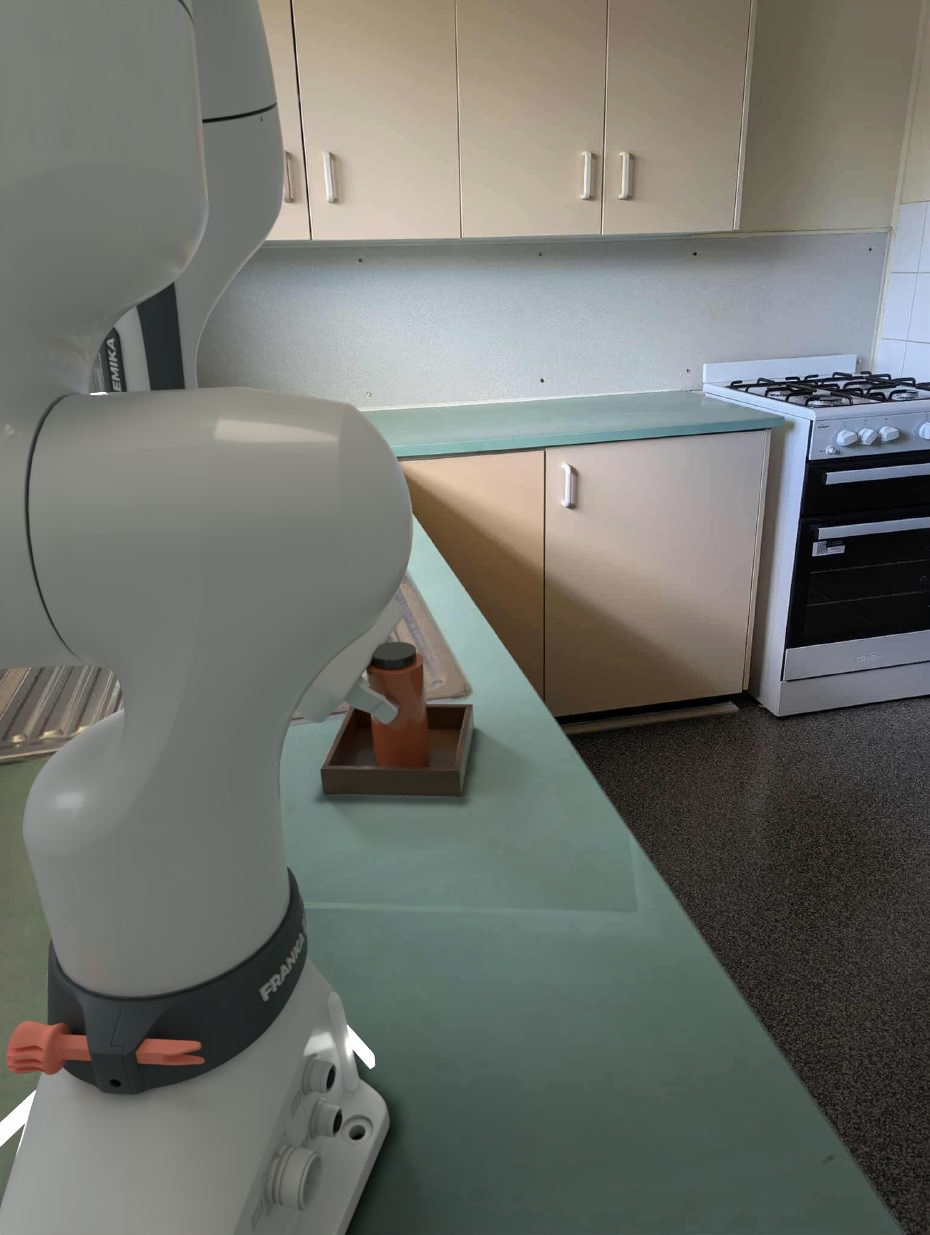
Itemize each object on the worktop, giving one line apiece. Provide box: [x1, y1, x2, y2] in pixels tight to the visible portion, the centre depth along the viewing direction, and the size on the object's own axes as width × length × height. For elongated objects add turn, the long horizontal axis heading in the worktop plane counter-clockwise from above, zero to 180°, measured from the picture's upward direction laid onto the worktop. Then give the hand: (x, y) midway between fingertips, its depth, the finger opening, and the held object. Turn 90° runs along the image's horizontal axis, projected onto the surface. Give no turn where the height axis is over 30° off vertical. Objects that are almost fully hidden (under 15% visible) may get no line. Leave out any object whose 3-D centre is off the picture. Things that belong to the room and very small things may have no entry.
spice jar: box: [365, 641, 431, 767], centre depth 80 cm, size 5×5×11 cm
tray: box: [319, 703, 475, 797], centre depth 81 cm, size 12×12×3 cm
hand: (404, 699), depth 79 cm, fingers closed on spice jar, 5 cm apart
